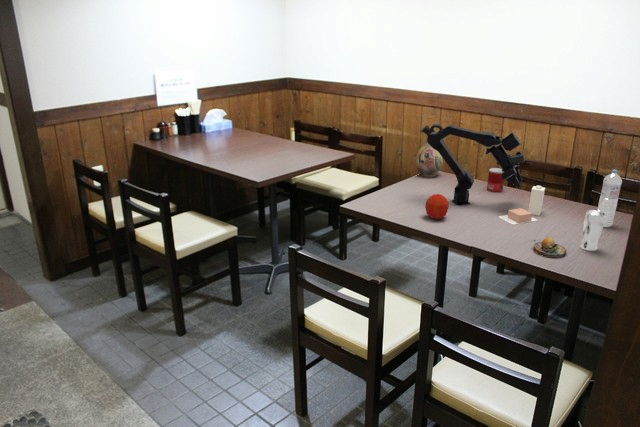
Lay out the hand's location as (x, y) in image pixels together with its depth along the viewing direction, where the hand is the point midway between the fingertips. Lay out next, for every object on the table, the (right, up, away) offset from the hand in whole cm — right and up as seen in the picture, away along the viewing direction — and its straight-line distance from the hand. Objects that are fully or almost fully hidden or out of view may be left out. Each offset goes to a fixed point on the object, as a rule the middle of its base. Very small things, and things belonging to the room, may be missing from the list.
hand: (520, 184), depth 237 cm
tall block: (+6, -14, -1) cm, 16 cm away
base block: (-4, -16, -9) cm, 19 cm away
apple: (-40, -16, -4) cm, 43 cm away
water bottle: (+32, -19, -12) cm, 39 cm away
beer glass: (+14, -27, -34) cm, 46 cm away
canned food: (-1, -1, +33) cm, 33 cm away
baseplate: (-4, -17, -7) cm, 19 cm away
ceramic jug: (-30, +8, +57) cm, 65 cm away
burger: (-3, -29, -37) cm, 47 cm away
